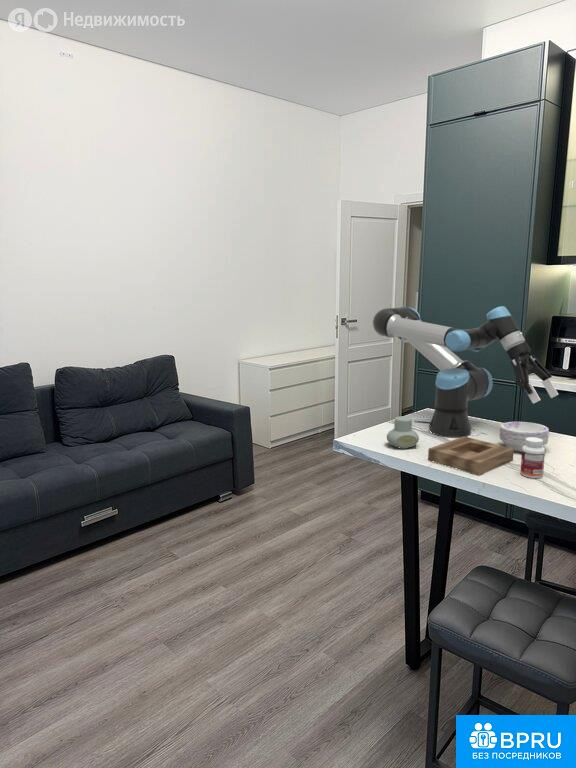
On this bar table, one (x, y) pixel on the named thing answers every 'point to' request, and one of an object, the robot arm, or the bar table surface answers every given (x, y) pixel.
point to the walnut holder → (471, 455)
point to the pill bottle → (532, 458)
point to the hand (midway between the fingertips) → (546, 399)
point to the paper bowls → (522, 433)
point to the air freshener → (402, 433)
